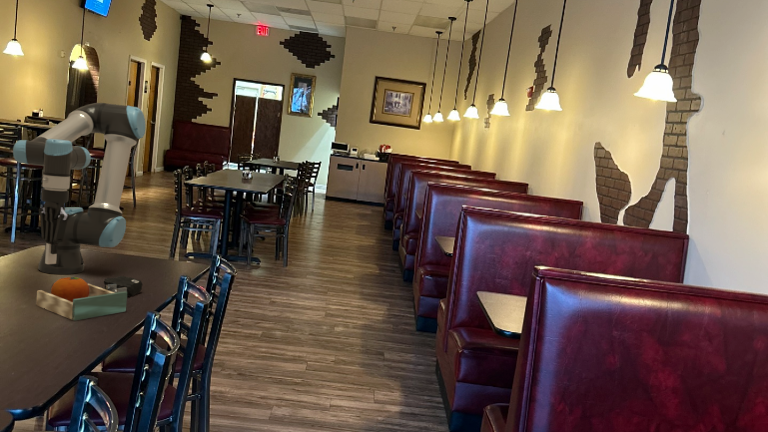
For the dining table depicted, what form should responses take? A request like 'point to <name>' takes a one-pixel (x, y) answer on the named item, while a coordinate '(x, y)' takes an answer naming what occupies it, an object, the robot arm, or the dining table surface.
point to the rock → (125, 284)
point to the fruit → (70, 288)
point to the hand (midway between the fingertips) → (50, 263)
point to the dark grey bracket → (113, 288)
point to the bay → (84, 303)
